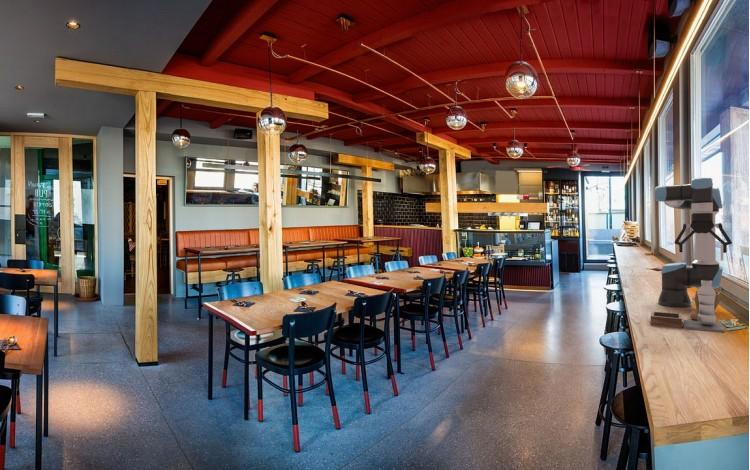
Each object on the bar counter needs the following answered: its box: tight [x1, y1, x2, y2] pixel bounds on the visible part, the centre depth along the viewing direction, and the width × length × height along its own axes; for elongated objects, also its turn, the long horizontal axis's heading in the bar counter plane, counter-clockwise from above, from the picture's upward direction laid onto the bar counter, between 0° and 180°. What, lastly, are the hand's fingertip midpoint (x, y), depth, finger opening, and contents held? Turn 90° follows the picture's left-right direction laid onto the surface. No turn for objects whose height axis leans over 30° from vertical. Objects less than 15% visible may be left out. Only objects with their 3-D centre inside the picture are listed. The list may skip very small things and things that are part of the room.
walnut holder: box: [650, 310, 683, 329], centre depth 197 cm, size 12×12×4 cm
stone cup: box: [688, 288, 722, 321], centre depth 201 cm, size 15×12×15 cm
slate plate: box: [682, 319, 725, 333], centre depth 189 cm, size 14×14×1 cm
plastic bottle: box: [696, 280, 717, 325], centre depth 188 cm, size 6×7×20 cm
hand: (702, 260), depth 188 cm, fingers open, 13 cm apart
